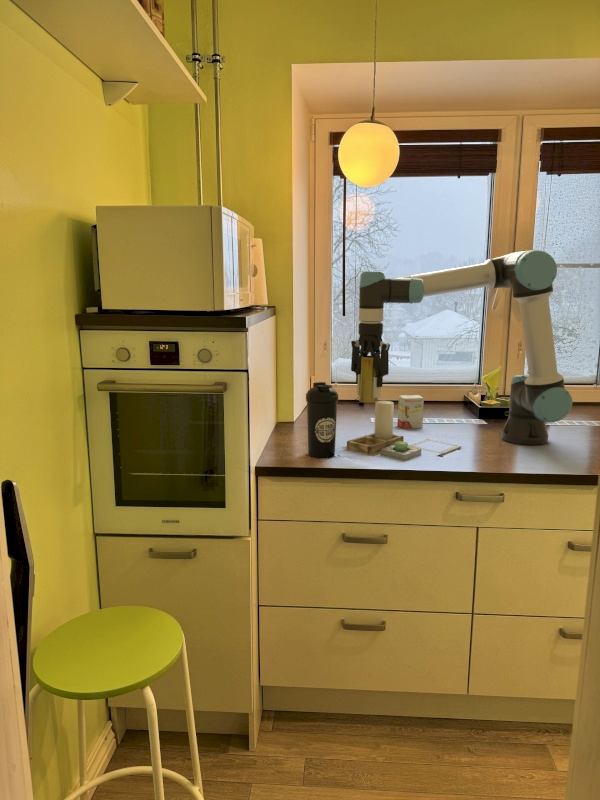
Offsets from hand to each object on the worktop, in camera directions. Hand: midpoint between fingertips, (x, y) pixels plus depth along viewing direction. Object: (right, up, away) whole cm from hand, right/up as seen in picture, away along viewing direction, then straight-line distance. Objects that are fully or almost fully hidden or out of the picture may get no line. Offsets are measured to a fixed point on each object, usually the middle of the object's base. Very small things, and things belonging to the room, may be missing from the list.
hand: (368, 395), depth 187 cm
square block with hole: (+10, -20, -3) cm, 22 cm away
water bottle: (-15, -19, +1) cm, 24 cm away
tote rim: (+22, -18, +7) cm, 30 cm away
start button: (+10, -17, -3) cm, 20 cm away
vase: (0, -2, 0) cm, 2 cm away
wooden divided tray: (+3, -18, +7) cm, 19 cm away
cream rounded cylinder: (+6, -16, +9) cm, 20 cm away
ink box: (+20, -12, +37) cm, 44 cm away
